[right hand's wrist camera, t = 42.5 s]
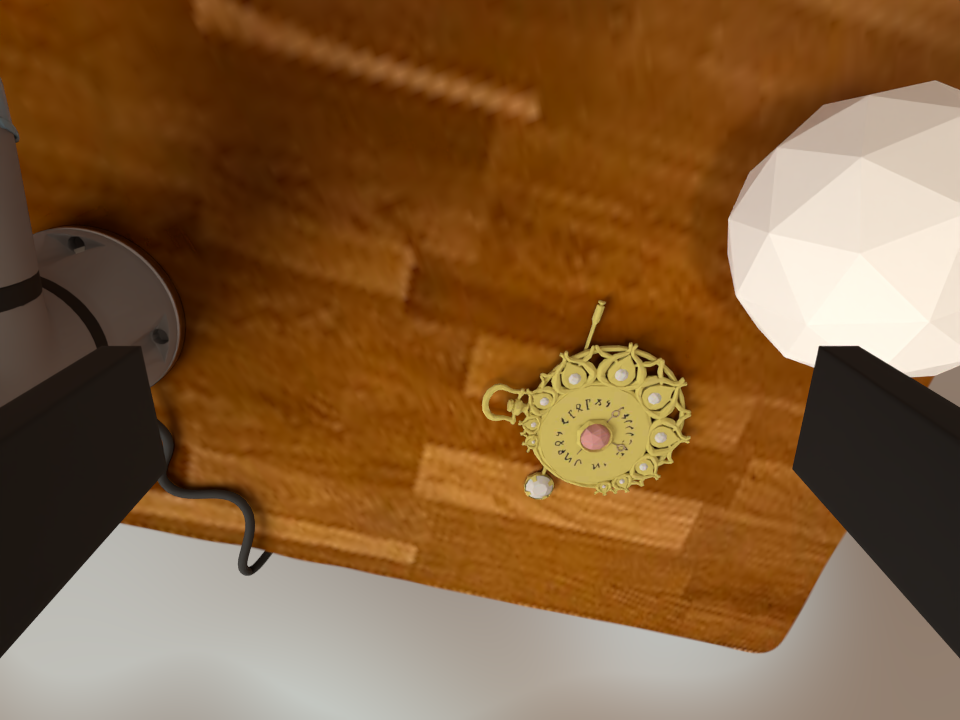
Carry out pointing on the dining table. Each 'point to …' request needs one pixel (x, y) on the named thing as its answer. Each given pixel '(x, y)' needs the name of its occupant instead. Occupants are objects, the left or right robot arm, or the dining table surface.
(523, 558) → the dining table surface
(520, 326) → the dining table surface
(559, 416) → the decorative object
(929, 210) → the sphere
